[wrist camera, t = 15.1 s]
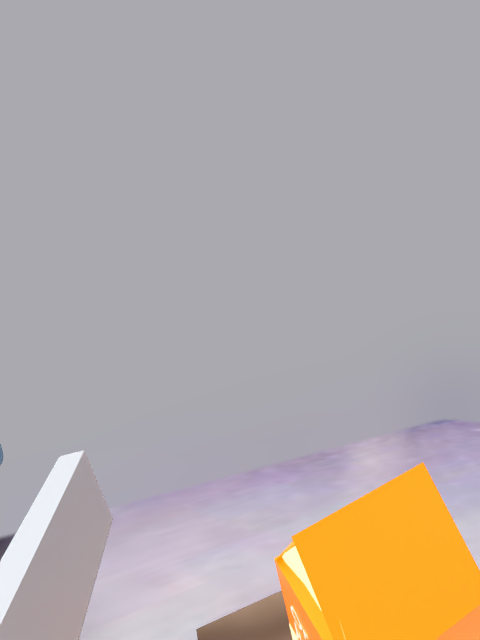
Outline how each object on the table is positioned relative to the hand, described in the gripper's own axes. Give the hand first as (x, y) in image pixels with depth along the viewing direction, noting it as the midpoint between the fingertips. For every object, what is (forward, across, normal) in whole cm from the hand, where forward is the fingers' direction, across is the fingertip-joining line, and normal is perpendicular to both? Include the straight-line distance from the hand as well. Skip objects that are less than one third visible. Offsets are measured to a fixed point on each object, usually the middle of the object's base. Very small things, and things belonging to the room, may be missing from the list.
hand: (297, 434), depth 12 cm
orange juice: (+5, +3, -29) cm, 29 cm away
